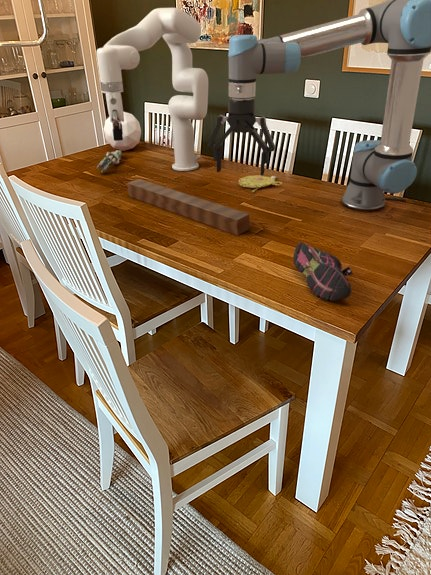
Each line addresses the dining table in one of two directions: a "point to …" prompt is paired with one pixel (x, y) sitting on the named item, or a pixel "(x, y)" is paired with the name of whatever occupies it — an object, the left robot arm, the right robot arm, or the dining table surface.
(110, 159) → the figurine
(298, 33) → the right robot arm
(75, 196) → the dining table surface
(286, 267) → the dining table surface
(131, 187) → the beam
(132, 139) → the sphere
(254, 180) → the decorative object
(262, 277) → the dining table surface
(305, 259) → the athletic shoe
